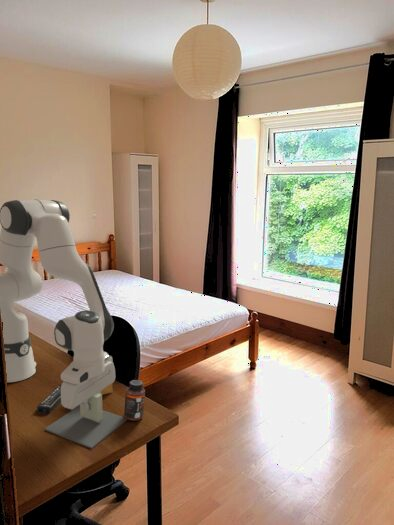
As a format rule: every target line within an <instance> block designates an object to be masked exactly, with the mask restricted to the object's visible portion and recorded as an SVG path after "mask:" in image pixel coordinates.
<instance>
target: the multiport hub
mask: <svg viewBox="0 0 394 525" xmlns="http://www.w3.org/2000/svg"><path fill="white" fill-rule="evenodd" d="M61 385H62V384H59V385H57V386H56V387H55V388H54V389H53V390H52V391H51V392H50V393H49V394H48V395H47V396H46V397H45V398H44V399H43V400H42V401H41V402H40V403H39V404H38V405H37V406H36V410H37V411H36V413H39V414H48V415H49V414H51V413H52V412H54V410H55V409H56V408H57V407H58V405H59V404H61Z"/></svg>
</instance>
